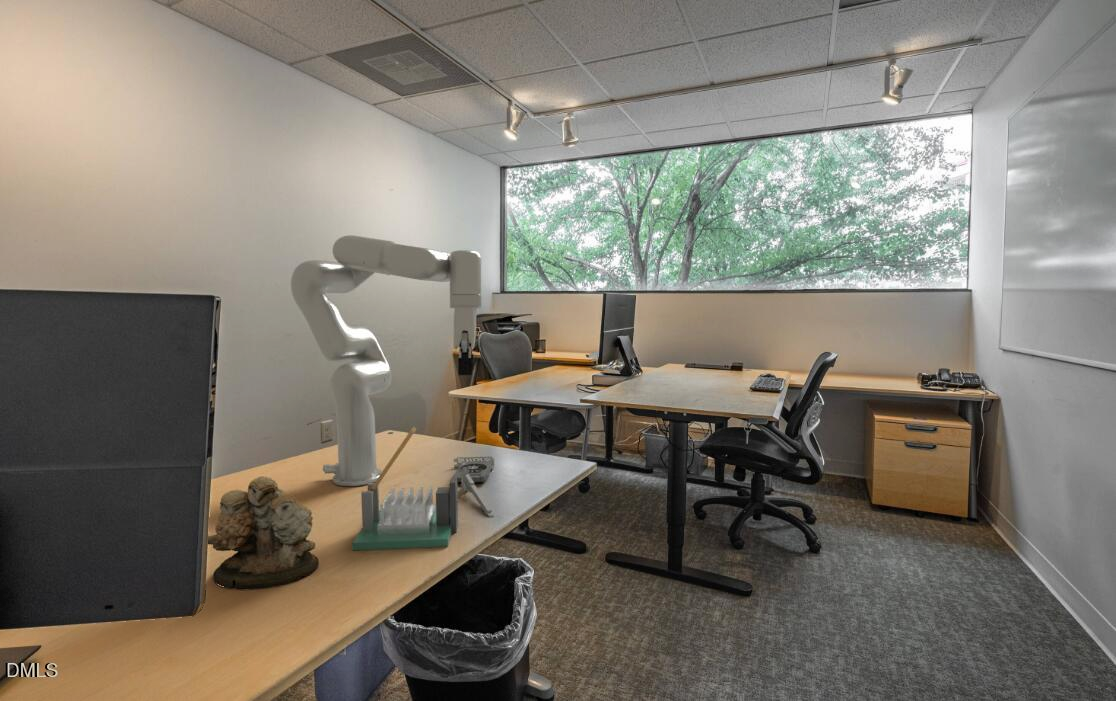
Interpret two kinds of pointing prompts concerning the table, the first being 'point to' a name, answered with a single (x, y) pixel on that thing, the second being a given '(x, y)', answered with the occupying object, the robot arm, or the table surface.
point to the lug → (447, 505)
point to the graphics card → (475, 468)
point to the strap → (392, 459)
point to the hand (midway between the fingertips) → (466, 372)
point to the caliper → (474, 491)
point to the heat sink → (407, 513)
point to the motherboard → (372, 540)
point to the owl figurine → (263, 537)
